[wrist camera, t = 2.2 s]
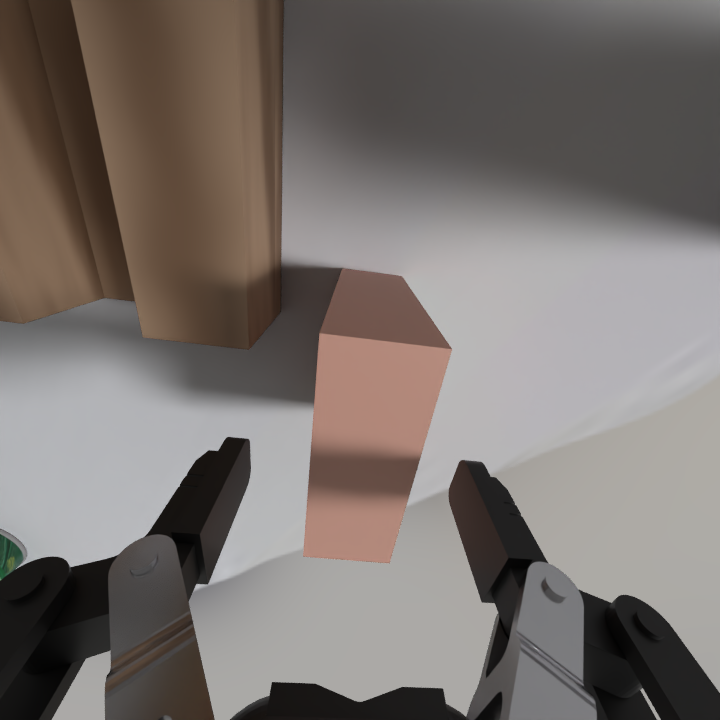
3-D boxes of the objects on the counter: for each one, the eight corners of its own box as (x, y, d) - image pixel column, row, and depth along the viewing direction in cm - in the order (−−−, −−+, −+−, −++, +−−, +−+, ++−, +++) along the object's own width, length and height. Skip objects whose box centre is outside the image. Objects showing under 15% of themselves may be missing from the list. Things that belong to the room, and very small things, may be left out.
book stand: (285, -163, 12) (211, -530, 6) (280, 311, 21) (248, 349, 15) (-143, -254, 11) (-713, -784, 5) (42, 282, 20) (-92, 310, 14)
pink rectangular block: (401, 276, 20) (452, 349, 9) (376, 410, 24) (389, 563, 14) (342, 268, 19) (319, 333, 9) (328, 405, 24) (303, 556, 13)
